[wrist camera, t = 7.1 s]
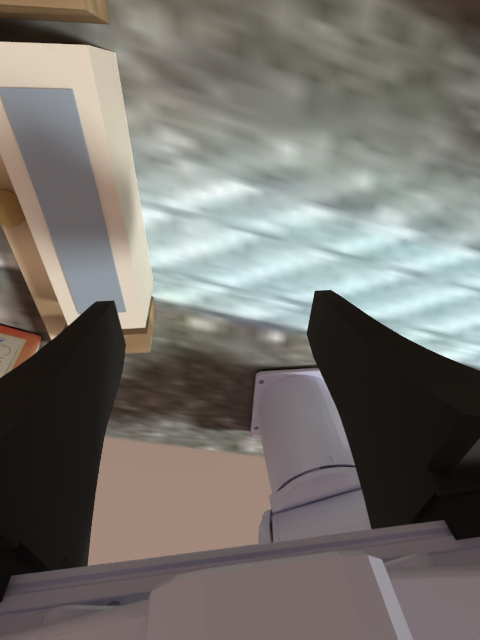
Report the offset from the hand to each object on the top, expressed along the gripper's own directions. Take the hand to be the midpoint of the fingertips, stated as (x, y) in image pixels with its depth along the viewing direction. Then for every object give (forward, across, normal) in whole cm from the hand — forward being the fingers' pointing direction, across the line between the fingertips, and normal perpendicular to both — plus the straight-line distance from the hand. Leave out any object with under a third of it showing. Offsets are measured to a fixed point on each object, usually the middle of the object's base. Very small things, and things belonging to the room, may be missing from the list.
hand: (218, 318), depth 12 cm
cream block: (+10, +6, -2) cm, 12 cm away
